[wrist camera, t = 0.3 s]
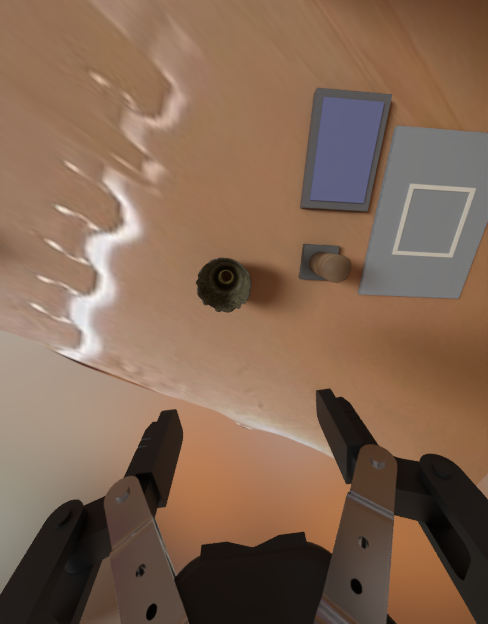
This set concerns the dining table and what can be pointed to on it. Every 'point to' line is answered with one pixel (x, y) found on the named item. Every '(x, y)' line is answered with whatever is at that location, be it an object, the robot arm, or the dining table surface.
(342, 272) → the stamp
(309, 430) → the dining table surface
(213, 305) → the cup
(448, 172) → the board
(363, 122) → the ink pad
